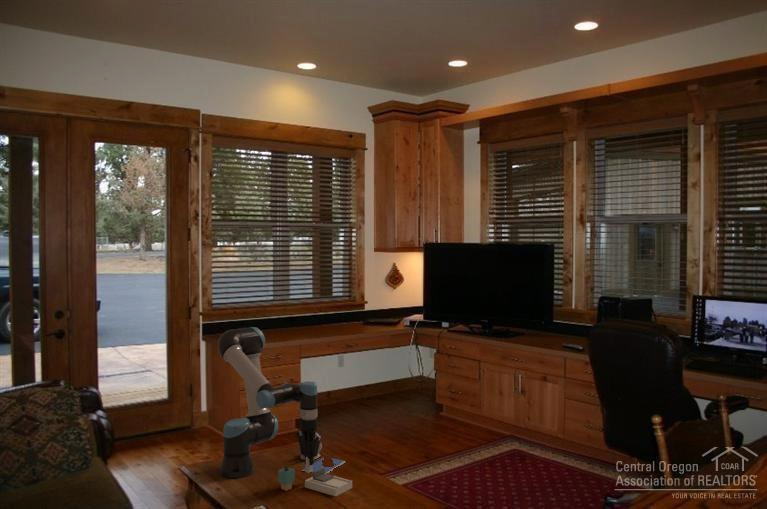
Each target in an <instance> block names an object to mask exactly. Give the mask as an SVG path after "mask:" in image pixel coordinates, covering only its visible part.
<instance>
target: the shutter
mask: <svg viewBox="0 0 767 509" xmlns="http://www.w3.org/2000/svg"><path fill="white" fill-rule="evenodd" d="M333 476H334V475H332V474H330V473H328V474H325V468H320V469H318V470H316V471H314V472H313V474H312V477H313V479H314V480H317V481H321V482H326V481H328V480H330V479H332V478H333Z"/></svg>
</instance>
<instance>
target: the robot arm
mask: <svg viewBox="0 0 767 509" xmlns="http://www.w3.org/2000/svg"><path fill="white" fill-rule="evenodd" d="M218 338H219V339H218V341H217V349H218V353H219V356H220V357H221V358H222V359H223V360H224V362H227V363H229V364H230V365H231V367H233V368H234V370H235V371H236V372H237V373H238V375H239V376H240V377H241V378H242V380H243V382H244V388H245V390H244V391H245V395H246V401H247V410H248V412H247V414H246V415H245V417H239V418H237V417H236V418H233V419H229V420H228V421H226V422H225V423H224V425H223V433H222V436H223V438H222V439H223V457H222V460H221V465H220V467H219V474H220V476H221V477H224V478H228V479H237V478H245V477H247V476H250V475H252V474H253V473H254V472H255V467H254V463H253V459H252V457H251V451H250V450H251V446H255V445H258V444H261V443H265V442H269V441H270V440H272V439H274V438H275V437H276V435H277V434H278V430H279V421H278V418H277V417H276V416H275V415H274V414H272V411H271V410H270V408H273V407H276V406H280V405H284V404H289V403H292V402H294V403H299V412H300V413H299V416H300V420H299V422H300V423H299V426H300V431H297V432H296V436H297V438H298V443H299V450H301V451H300V453H301V454H300V455H304V457H305V460H304V464H305V468H306V472H305V473H307V474H311V473H310V472H312V471H313V464H314V463H315V460H314V457H315V456H317V455H318V449H319V444H320V443H321V440H322V438H323V437H322V435H319V433H318V429H317V428H318V424H319V422H318V420H319V419H318V417H319V416H318V392H319V391H318V384H317V382H315V381H309V380H308V381H302V382H300V383H299V384H296V383H294V382H284V383H283V384H282V385H281V386H278V387H277V386H276V387H274V386H273V384H271V382H270V381H269V380H268V379H267V378H266V377H265V376H264V375H263V373H262V372H263V371H262V367H261V360H260V358H261V355H262V352H263V351H262V350H263V349H264V348H265V345H266V337H265V335H264V333H263V331H262V330H260V329H259V328H258V327H255V326H254V327H253V326H251V327H250V326H248V327H242V328H241V327H239V328H235V329H232V328H231V329H228V330H226V331H224V332H223V333H222V334H221V335H220V336H219V337H218Z"/></svg>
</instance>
